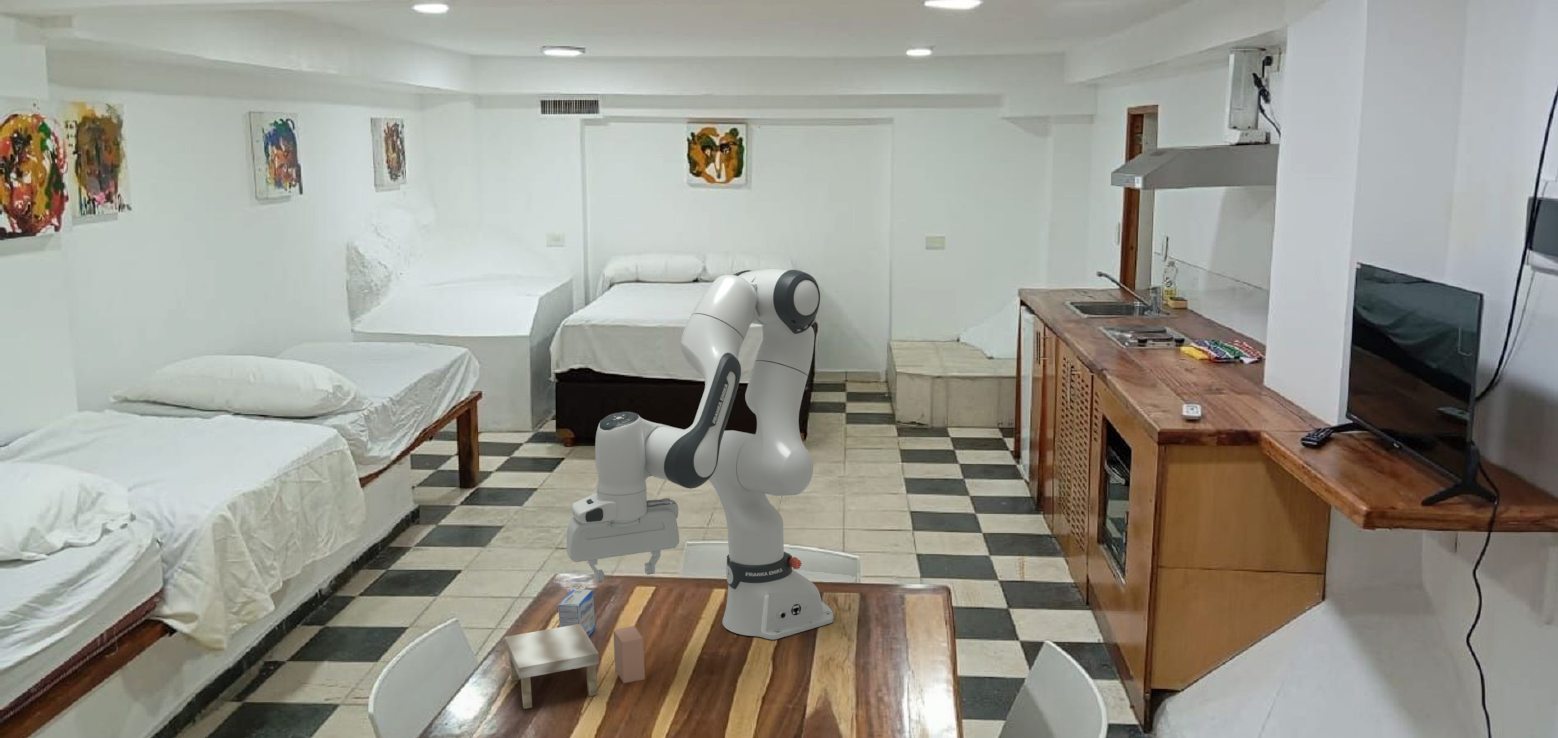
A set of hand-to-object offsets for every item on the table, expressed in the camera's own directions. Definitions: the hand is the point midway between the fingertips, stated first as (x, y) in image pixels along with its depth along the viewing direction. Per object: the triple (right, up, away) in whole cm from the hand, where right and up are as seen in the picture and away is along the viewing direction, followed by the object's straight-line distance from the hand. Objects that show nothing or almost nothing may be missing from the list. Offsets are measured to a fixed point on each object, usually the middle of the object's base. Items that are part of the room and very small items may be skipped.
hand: (624, 577), depth 220 cm
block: (0, -19, +4) cm, 19 cm away
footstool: (-13, -20, 0) cm, 23 cm away
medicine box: (-12, -16, +20) cm, 28 cm away
